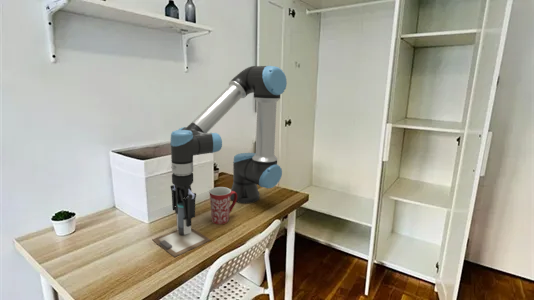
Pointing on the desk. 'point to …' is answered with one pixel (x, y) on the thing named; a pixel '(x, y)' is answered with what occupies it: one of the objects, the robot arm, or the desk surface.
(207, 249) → the desk surface
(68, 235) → the desk surface
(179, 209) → the grey cylinder
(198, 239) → the clipboard
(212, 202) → the mug
